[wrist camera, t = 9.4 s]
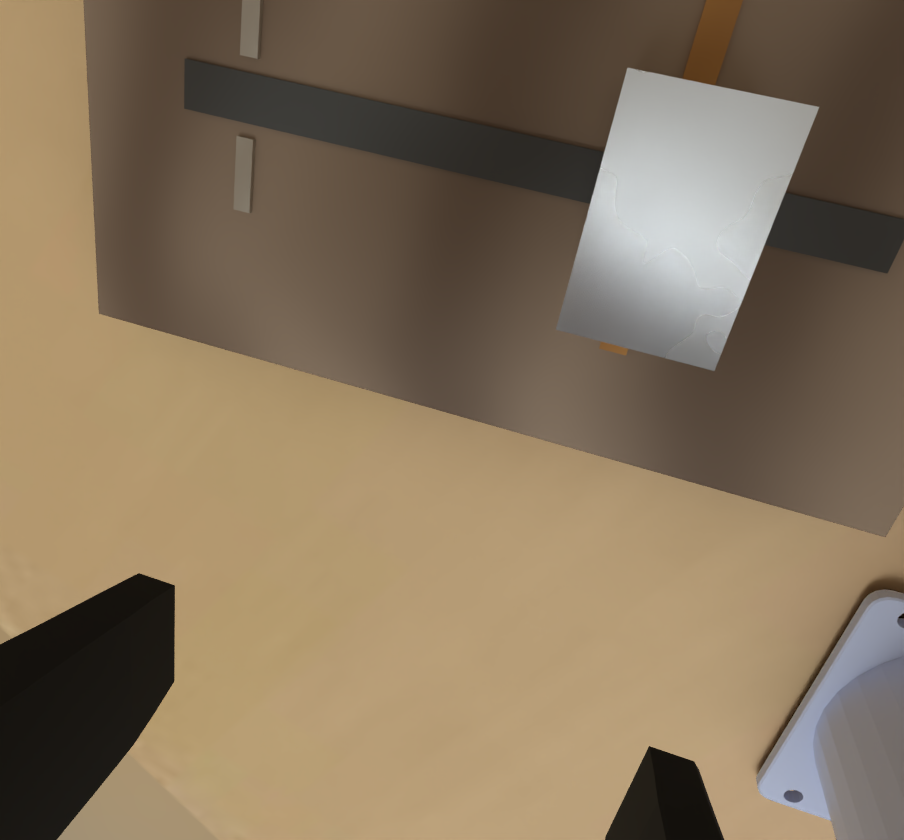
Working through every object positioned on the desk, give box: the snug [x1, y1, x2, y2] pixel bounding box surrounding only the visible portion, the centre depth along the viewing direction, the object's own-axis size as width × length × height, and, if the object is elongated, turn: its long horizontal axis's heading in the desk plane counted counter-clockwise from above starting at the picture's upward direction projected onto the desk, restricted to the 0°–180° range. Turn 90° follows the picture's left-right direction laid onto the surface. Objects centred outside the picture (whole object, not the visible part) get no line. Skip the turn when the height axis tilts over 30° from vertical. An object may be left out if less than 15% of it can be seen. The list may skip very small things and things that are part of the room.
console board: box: [84, 0, 904, 537], centre depth 15 cm, size 20×12×2 cm, turn 79°
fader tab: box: [556, 68, 819, 371], centre depth 11 cm, size 2×4×4 cm, turn 169°
